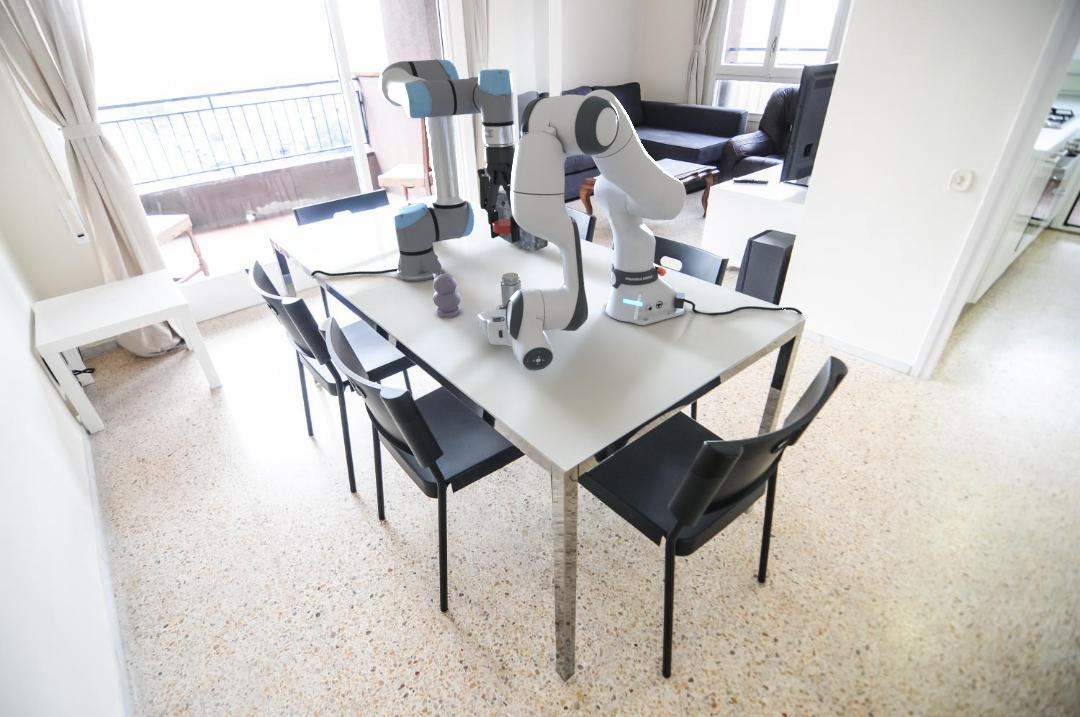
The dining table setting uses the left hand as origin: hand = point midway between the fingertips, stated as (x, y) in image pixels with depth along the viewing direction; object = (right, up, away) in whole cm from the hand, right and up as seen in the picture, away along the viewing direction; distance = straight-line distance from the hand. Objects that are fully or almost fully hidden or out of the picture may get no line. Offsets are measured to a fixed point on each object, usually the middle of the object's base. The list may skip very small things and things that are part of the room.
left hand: (505, 238), depth 130 cm
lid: (0, +3, -2) cm, 4 cm away
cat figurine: (-18, -18, +18) cm, 31 cm away
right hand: (+1, -17, +5) cm, 18 cm away
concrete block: (+3, +13, +66) cm, 68 cm away
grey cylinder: (+2, -23, +8) cm, 25 cm away
